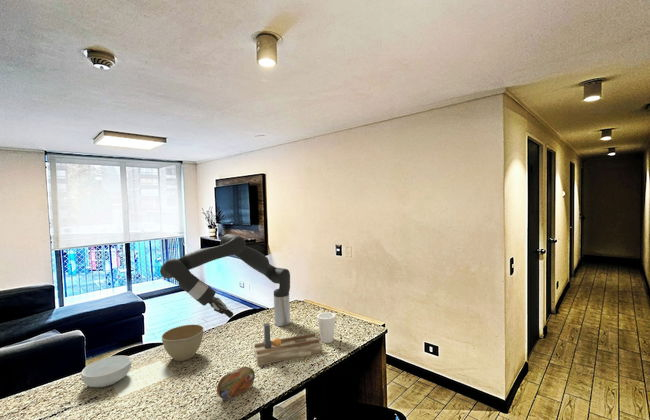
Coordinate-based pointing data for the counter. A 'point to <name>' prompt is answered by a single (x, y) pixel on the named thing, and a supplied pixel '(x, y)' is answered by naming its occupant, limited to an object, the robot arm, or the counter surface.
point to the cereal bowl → (106, 371)
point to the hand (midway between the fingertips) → (232, 315)
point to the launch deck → (287, 349)
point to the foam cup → (326, 326)
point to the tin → (235, 383)
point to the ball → (276, 342)
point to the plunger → (267, 336)
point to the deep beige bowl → (183, 341)
